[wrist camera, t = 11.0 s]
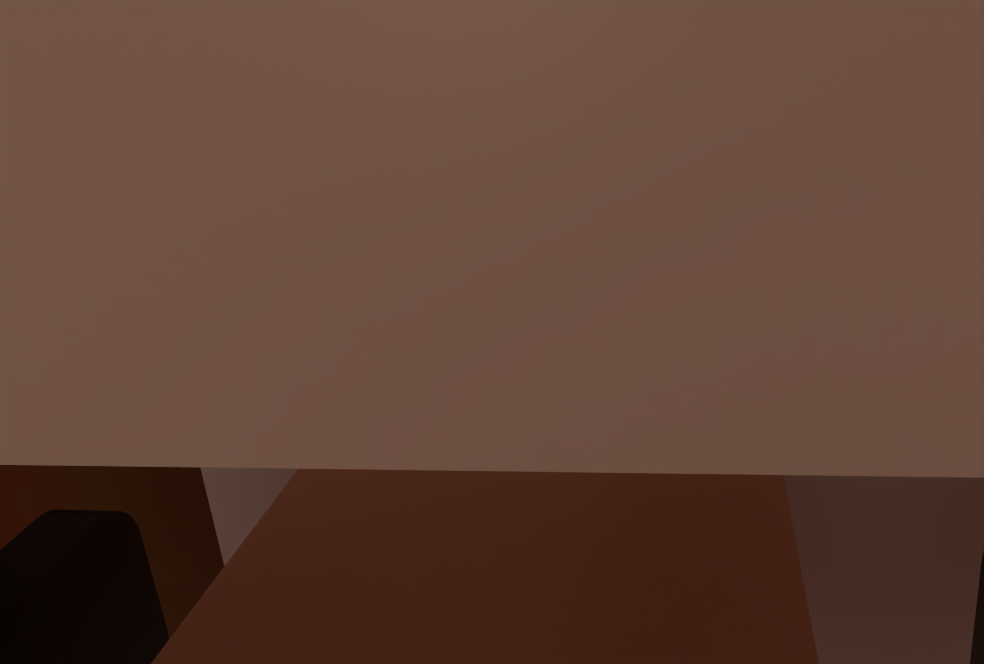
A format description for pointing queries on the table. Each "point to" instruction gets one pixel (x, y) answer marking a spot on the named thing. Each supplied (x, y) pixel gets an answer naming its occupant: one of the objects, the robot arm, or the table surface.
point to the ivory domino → (494, 235)
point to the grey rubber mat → (807, 557)
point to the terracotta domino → (509, 572)
